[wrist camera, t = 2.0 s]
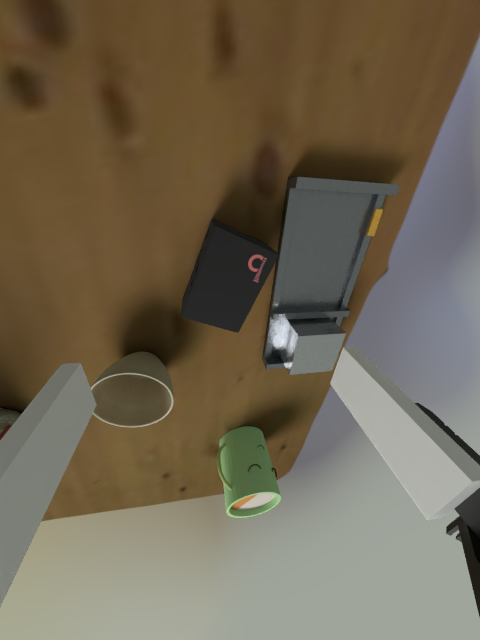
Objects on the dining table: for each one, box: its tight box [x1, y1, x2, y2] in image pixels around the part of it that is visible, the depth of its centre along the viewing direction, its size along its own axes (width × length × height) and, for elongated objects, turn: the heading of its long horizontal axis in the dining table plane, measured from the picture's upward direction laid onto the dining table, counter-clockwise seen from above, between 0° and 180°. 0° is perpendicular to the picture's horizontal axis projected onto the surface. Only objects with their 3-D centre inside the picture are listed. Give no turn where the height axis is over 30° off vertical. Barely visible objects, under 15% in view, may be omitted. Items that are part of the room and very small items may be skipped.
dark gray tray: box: [262, 177, 400, 375], centre depth 29 cm, size 26×12×6 cm, turn 177°
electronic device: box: [181, 219, 279, 332], centre depth 26 cm, size 7×11×5 cm
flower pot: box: [90, 352, 174, 427], centre depth 30 cm, size 10×10×7 cm
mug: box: [217, 426, 281, 518], centre depth 43 cm, size 13×10×12 cm
